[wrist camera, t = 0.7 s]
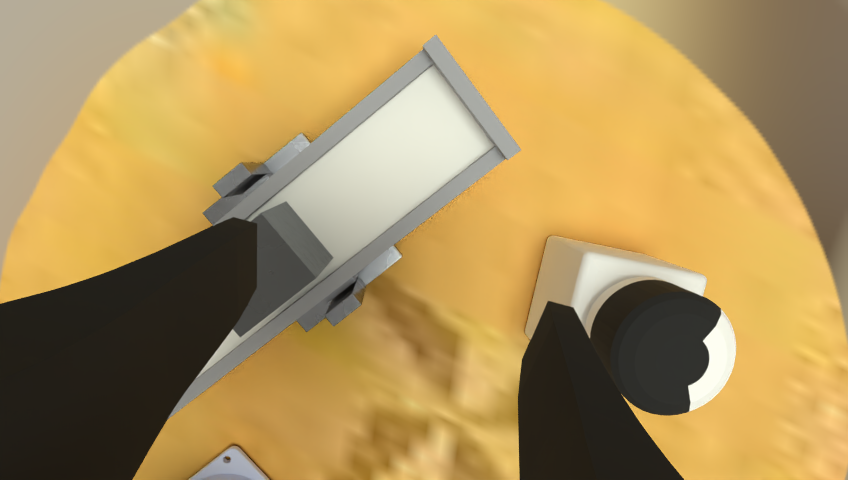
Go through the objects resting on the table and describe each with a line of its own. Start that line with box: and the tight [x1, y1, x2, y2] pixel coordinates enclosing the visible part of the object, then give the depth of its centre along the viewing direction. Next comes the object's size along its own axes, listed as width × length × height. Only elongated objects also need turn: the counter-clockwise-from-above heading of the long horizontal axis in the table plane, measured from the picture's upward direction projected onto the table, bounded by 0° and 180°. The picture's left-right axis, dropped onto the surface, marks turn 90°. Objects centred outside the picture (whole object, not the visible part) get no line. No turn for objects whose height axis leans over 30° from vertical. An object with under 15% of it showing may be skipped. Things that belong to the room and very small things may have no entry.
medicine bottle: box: [525, 235, 736, 415], centre depth 29 cm, size 7×7×12 cm
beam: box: [168, 35, 521, 419], centre depth 29 cm, size 26×7×5 cm, turn 128°
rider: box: [233, 202, 333, 337], centre depth 26 cm, size 5×4×4 cm
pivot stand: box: [203, 133, 402, 332], centre depth 30 cm, size 8×10×6 cm
